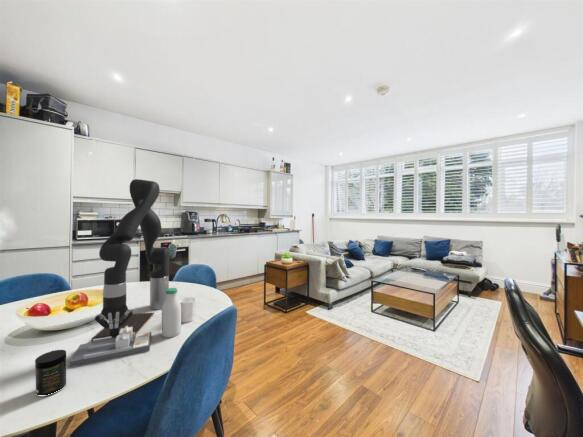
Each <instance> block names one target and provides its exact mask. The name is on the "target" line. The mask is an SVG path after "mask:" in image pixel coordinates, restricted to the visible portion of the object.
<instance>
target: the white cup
mask: <svg viewBox="0 0 583 437" xmlns="http://www.w3.org/2000/svg"><path fill="white" fill-rule="evenodd" d="M178 300H179V302H180V305H181V323H190V322H192V321H194V320H195V318H196V315H195V314H196V303H197V302H196V301H197V298H196V297H192V296H190V297H189V296H188V297H183V298H179V299H178Z"/></svg>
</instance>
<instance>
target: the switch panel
mask: <svg viewBox="0 0 583 437" xmlns="http://www.w3.org/2000/svg"><path fill="white" fill-rule="evenodd" d="M116 338H117V337H115V338H112V337H105V338H99V339H93V342H92V341H91V342H87V343H81V344H79V346H78V348H77V349H76V351H75V352H74V353H73V355H72V357H71V358H70V360H69V362H68V367H69V368H73V367H78V366H83V365H88V364H92V363H93V364H94V363H97V362H103V361H107V360H112V359H116V358H121V357H126V356H132V355H135V354H136V355H137V354H140V353H141V354H142V353H145V352H149V351H150V350H151V348H150V347H151V342H152V331H147V332H143V333H142V332H141V333H138V334H136V335H135V332H133V336H132V339H130V344H129V347H124V348H119V349H116V344H115V341H116Z"/></svg>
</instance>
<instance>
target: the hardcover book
mask: <svg viewBox="0 0 583 437" xmlns="http://www.w3.org/2000/svg"><path fill="white" fill-rule="evenodd" d="M154 314H155V312H141V313H140V312H139V313H138V312H137V313H133V314H132V316H131V317H130V318H129V319H128V320H127V321H126V323H125V324H124V325H123V326H120V327H119V332H120V330H121V329H122V328H125V327H126V326H128V327H133V332H135V335H136V334H140V331H142V329H144V327H146V325H147V324H148V323H149V322H150V321H151V319H152V318H153V317H154ZM125 317H126V313H125V314H124V315H123V316H122V317H121V318H120V322H121V321H122V320H123V319H124V318H125ZM114 327H115V319H114ZM118 335H119V334H118ZM105 337H110V329H109V328H104V327H103V328H102V330H100V331H99V332H98V333H96V335H94V336H93V337H92V338H91V343H92V342H93V339H99V338H105Z"/></svg>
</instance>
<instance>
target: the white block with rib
mask: <svg viewBox="0 0 583 437" xmlns="http://www.w3.org/2000/svg"><path fill="white" fill-rule="evenodd" d="M115 344H116V349H119V348H124V347H129V344H130V334H125V333H122V335H118V336H117V338H116V341H115Z"/></svg>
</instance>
